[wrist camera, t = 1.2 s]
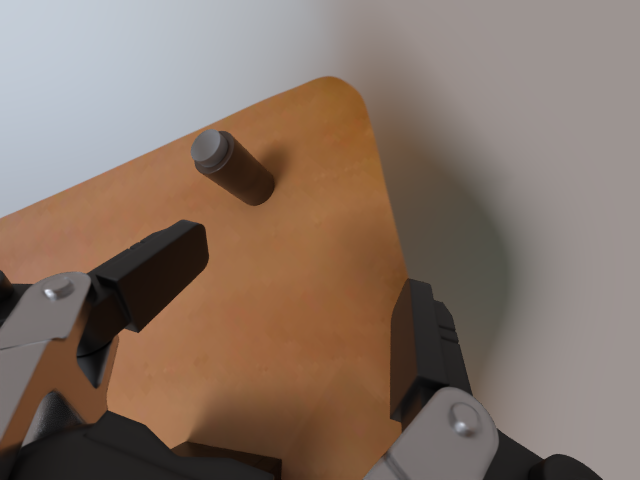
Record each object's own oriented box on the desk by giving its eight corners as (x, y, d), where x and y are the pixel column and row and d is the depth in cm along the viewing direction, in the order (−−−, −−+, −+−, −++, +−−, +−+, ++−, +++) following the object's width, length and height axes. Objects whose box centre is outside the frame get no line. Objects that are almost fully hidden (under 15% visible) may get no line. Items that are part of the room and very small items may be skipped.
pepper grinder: (263, 164, 30) (214, 114, 22) (281, 187, 28) (233, 141, 21) (235, 188, 30) (179, 147, 23) (251, 213, 28) (195, 177, 21)
